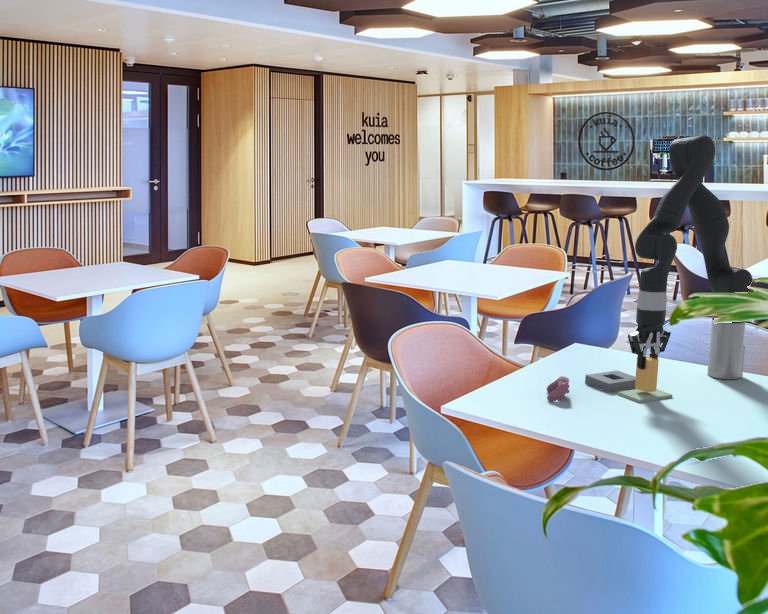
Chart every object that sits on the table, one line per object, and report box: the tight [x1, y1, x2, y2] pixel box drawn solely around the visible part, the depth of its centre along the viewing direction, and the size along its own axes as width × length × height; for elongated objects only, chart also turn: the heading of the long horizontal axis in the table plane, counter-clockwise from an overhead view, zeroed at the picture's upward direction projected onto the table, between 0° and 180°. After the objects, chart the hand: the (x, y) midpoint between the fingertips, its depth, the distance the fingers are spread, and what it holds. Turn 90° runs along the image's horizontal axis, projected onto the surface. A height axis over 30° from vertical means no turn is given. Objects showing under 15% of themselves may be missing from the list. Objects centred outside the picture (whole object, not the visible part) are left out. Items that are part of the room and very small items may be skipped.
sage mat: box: [618, 388, 673, 404], centre depth 218 cm, size 12×8×1 cm, turn 115°
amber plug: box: [634, 355, 660, 393], centre depth 217 cm, size 3×5×9 cm
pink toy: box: [546, 375, 570, 402], centre depth 216 cm, size 10×5×7 cm, turn 169°
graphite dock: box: [584, 370, 636, 393], centre depth 228 cm, size 12×10×2 cm
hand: (647, 367), depth 217 cm, fingers closed on amber plug, 3 cm apart
